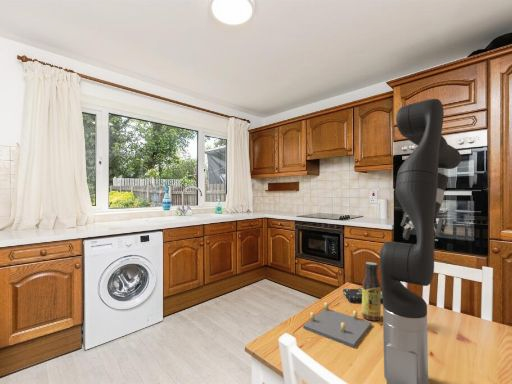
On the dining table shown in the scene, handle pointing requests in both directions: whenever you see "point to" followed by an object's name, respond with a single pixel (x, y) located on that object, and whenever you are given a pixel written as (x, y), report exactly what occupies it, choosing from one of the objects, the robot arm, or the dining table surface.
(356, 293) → the disk drive
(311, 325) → the standoff mount
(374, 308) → the sauce bottle
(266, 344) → the dining table surface
